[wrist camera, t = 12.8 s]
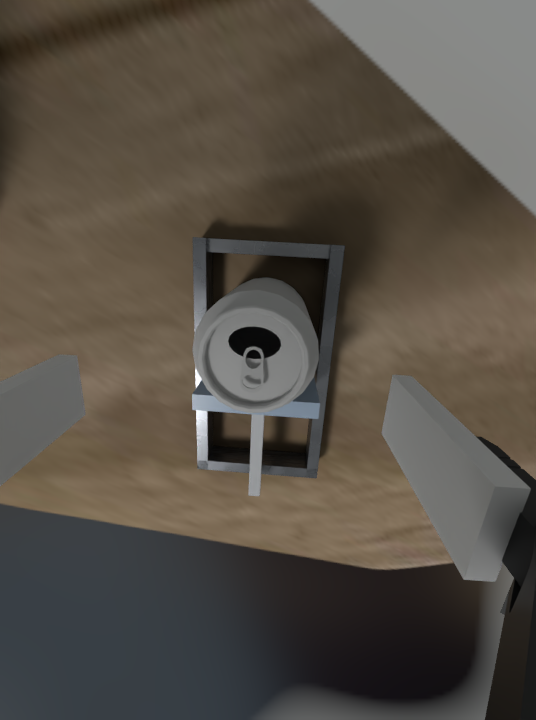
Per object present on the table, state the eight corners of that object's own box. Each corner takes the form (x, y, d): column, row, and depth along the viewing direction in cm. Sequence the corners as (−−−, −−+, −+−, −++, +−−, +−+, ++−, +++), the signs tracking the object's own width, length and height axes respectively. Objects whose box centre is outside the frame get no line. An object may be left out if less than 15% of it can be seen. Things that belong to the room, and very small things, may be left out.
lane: (203, 453, 34) (197, 468, 31) (200, 238, 27) (192, 237, 24) (314, 462, 33) (316, 478, 31) (339, 246, 26) (344, 245, 24)
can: (312, 279, 27) (330, 299, 16) (303, 362, 30) (314, 430, 18) (225, 273, 28) (182, 288, 16) (223, 356, 30) (184, 419, 19)
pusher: (216, 460, 33) (195, 521, 26) (216, 358, 30) (192, 394, 22) (300, 467, 33) (305, 531, 25) (311, 364, 29) (319, 403, 22)
